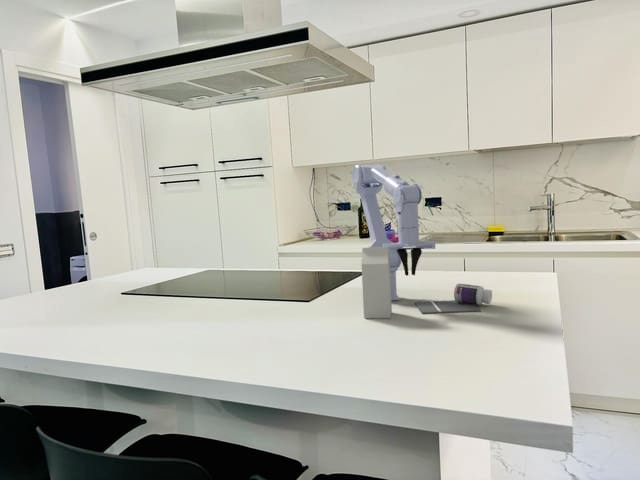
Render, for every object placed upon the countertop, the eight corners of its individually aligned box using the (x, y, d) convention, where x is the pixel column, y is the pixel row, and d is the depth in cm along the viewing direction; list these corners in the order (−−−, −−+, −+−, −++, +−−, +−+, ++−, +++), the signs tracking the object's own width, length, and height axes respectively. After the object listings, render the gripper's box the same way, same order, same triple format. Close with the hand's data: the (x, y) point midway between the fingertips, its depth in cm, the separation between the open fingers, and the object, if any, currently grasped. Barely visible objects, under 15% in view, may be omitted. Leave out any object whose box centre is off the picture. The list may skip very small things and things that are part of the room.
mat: (422, 313, 136) (422, 312, 136) (414, 303, 149) (414, 301, 149) (480, 311, 136) (480, 309, 136) (468, 301, 148) (468, 299, 148)
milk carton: (390, 318, 133) (387, 248, 131) (363, 318, 134) (360, 249, 133) (391, 312, 140) (389, 245, 138) (366, 312, 141) (363, 246, 140)
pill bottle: (454, 305, 145) (488, 310, 140) (452, 290, 143) (486, 295, 137) (460, 293, 149) (493, 298, 143) (458, 279, 146) (492, 283, 141)
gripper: (384, 229, 137) (386, 278, 138) (436, 227, 136) (438, 275, 138) (381, 228, 144) (383, 274, 145) (432, 225, 143) (433, 271, 145)
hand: (410, 274), depth 142 cm, fingers closed
